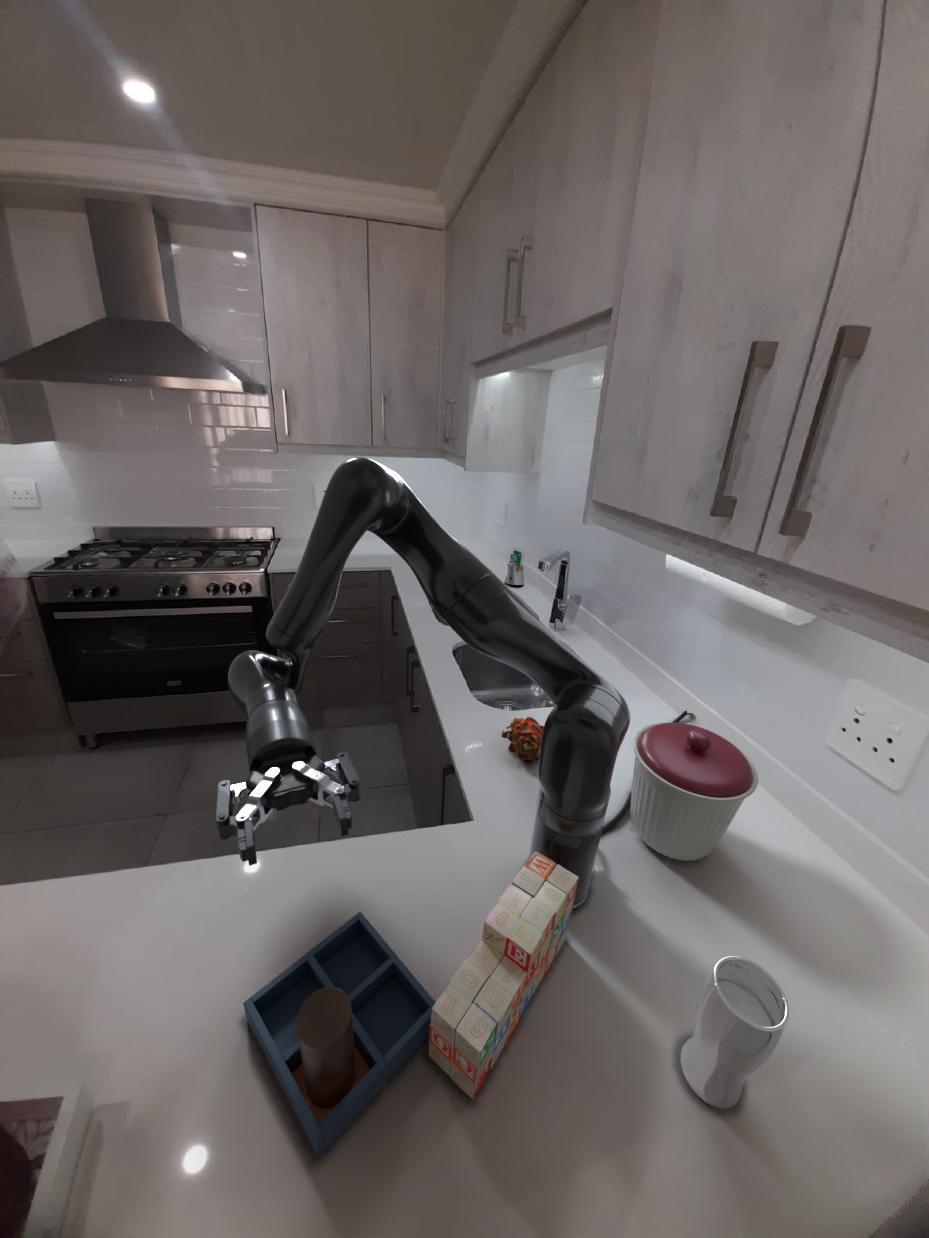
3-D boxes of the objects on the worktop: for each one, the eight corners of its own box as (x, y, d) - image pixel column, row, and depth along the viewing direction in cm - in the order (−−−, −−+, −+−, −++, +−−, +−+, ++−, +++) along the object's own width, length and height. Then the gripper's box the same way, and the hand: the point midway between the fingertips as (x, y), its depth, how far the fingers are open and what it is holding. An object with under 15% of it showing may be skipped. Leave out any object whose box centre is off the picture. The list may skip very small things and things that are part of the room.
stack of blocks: (473, 1103, 50) (481, 1035, 45) (427, 1056, 53) (429, 989, 48) (566, 938, 66) (580, 875, 61) (526, 910, 69) (536, 848, 64)
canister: (629, 875, 75) (659, 768, 66) (605, 790, 92) (627, 695, 83) (748, 886, 75) (794, 779, 66) (702, 798, 91) (734, 704, 82)
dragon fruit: (530, 781, 95) (512, 748, 106) (565, 755, 95) (543, 725, 106) (507, 752, 92) (491, 722, 103) (544, 725, 92) (523, 698, 103)
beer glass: (752, 1070, 53) (798, 989, 47) (734, 1134, 49) (783, 1052, 43) (688, 1019, 58) (723, 938, 51) (666, 1073, 53) (701, 991, 47)
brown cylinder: (339, 1035, 54) (333, 975, 49) (365, 1077, 51) (362, 1016, 46) (296, 1075, 50) (286, 1014, 46) (322, 1122, 47) (314, 1062, 43)
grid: (361, 928, 65) (360, 910, 64) (438, 1024, 56) (439, 1006, 54) (246, 1020, 55) (242, 1002, 54) (318, 1158, 46) (315, 1140, 44)
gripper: (210, 731, 55) (211, 839, 42) (336, 705, 61) (371, 792, 48) (220, 782, 59) (224, 897, 45) (339, 753, 64) (373, 847, 51)
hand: (300, 843), depth 47 cm, fingers open, 8 cm apart
